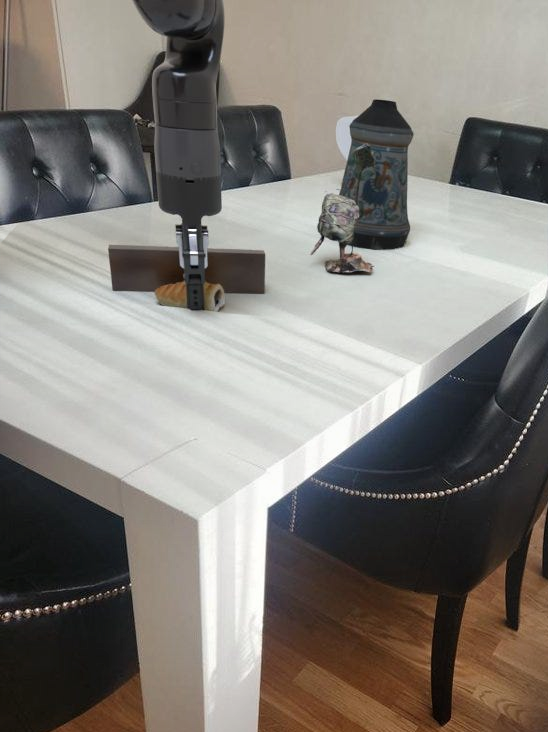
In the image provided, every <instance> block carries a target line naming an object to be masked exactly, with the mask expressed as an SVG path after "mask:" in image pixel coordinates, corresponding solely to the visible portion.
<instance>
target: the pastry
mask: <svg viewBox="0 0 548 732" xmlns="http://www.w3.org/2000/svg"><path fill="white" fill-rule="evenodd" d="M203 286H204V308H205V310H204V311H206V312H214V313H215V312H216V313H218V311H219V310H220V308H222V307H223V306H224V305H225V304H226V301H227V300H226V293H224V290H223V288H222V286H221V285H220V284H209V283H207V282H205V284H204V285H203ZM154 295H155V297H156V300H157V302H158V303H159V304H160V305H161V306H163V307H169V308H179V309H187V294H186V285H185V282H178V283H176V284H169V285H164V286H161V287H160V288H158V289H156V290H155V291H154Z"/></svg>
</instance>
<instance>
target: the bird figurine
mask: <svg viewBox="0 0 548 732" xmlns="http://www.w3.org/2000/svg"><path fill="white" fill-rule="evenodd" d="M354 158H355V162H356V166H357V168H359V173H358V182H357V183H358V185H357V189H356V203H355V201H354V200H351V199H350V198H346V197H344V196H341V195H339V194H338V193H336V192H332V193H328V191H327V190H325V193H327V194H325V196H324V198H323V200H322V203H321V212H320V215H319V217H318V223H317V226H316V228H317V232H318V233H319V235H320V238H319V240H318V241H317V242H316V244H315V245H314V248H313V249H312V250H311V251H310V253H309V255H310V256H313V255H314V254H315V253H316V252H317V250H318V249H319V248H320V246H322V244H323V243H324V241H325V238H326V239H328V240H330V241H332V242H337V243H338V247H339V259H335V260H334V259H329V260H325V262H324V269H325V270H326V271H329V272H332V273H341V274H342V273H353V272H357V271H358V272H361V271H363V272H366V273H367V272H368V273H372V272H373V271H374V267H375V265H373V264H372V263H370V262H368V261H367V262H366V261H365V260H363V259H362V254H358V253H355V252H353V251H354V246H353V240H354V231H355V226H356V223H357V220H358V218H359V207H358V192H359V183H360V179H361V174H362V169H365V168H366V167H372V168H373V170H374V171H376V168H375V165H374V162H375V158H374V154H373V152H372V149H371V147H370V145H369V144H367V143H366V144H365V145H363V146H360V147H358V148H357V149H355V150H354ZM351 242H352V246H351V252H350V253H349V252H348V253H345V251H346V248H347V246H349V245H348V244H349V243H351Z"/></svg>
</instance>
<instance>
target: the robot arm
mask: <svg viewBox="0 0 548 732" xmlns="http://www.w3.org/2000/svg"><path fill="white" fill-rule="evenodd" d="M132 3H133V5H134V7H135V9H136V10H137V13H138V14H139V16H140V17H141V19H142V20H143V21H144V23H145V24H146V25H147V26H148V27H149V28H150V29H151V30H152V31H154V32H155V33H157V34H158V35H161V36H163V37H166V43H165V44H166V45H165V58H164V61H163V62H162V63H160V64H159V65H158V66H157V67H156V68H155V69H154V70H153V72H152V75H151V76H152V78H151V90H152V91H151V92H152V106H153V119H154V139H153V140H154V141H153V146H154V147H153V148H154V150H153V151H154V160H155V161H154V162H155V175H156V176H155V177H156V188H157V201H158V207H159V209H160V210H161V211H162V212H164V213H166V214H168V215H169V214H170V215H173V216H174V215H176V216H179V217H180V218H181V224H178V223H175V241H176V242H175V243H176V245H177V247H179V258H180V266H181V267H182V268H183V269H184V274H183V277H184V282H185V285H186V294H187V308H186V309H187V310H192V311H193V310H197V311H205V308H204V286H203V285H204V284H205V281H206V277H205V268H207V266H208V261H207V248H208V246H209V244H210V237H209V236H210V235H209V229H208V225H207V224H206V225H205V224H202V219H203V217H205V216H206V217H212V216H213V217H214V216H217V215H218V214H220V213H221V212H222V209H223V204H222V203H223V202H222V200H223V199H222V168H221V167H222V165H221V164H222V163H221V148H220V147H221V146H220V145H221V144H220V140H219V132H218V104H217V100H218V99H217V79H218V74H219V69H220V65H221V57H222V52H223V51H222V50H223V44H224V35H225V21H226V17H225V15H226V14H225V4H224V0H132Z"/></svg>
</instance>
